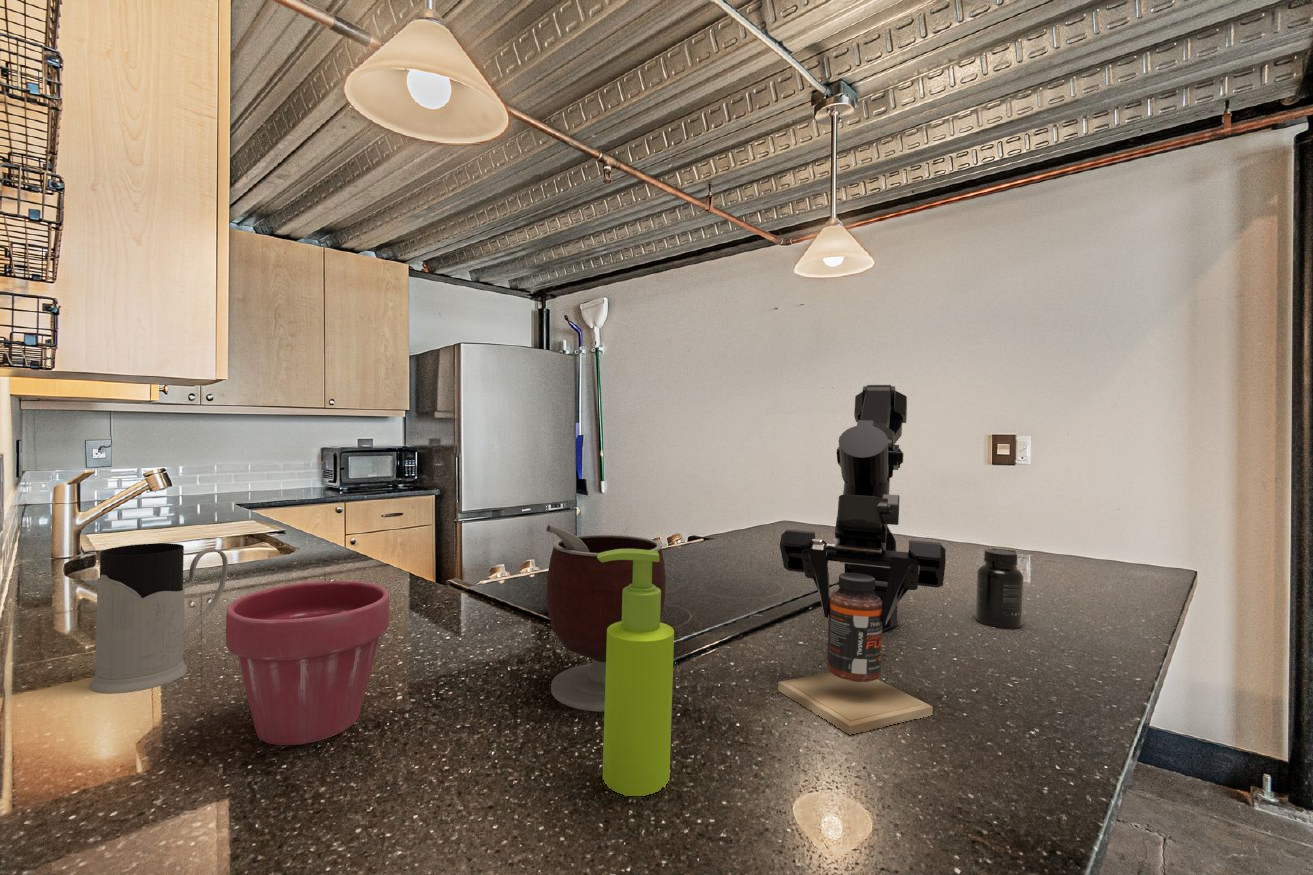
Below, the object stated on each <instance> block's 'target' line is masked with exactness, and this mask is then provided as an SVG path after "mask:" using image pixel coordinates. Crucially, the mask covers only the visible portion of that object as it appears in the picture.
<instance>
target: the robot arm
mask: <svg viewBox="0 0 1313 875" xmlns="http://www.w3.org/2000/svg"><path fill="white" fill-rule="evenodd" d="M853 411H854V413H853V417H854V419H855V420H854V421H855V423H856V425H855V426H852V427H849V428H847V429H846V430H845V431H843V432H842V434H841V435H840V436H839V437H838V447H837V448H836V461H837V464H838V465H839V467H840V472H841V478H842V480H843V482H844V483H843V490H842V494H841V495H839V496H838V502H837V503H838V504H837V515H836V522H835V528H834V537H835V539H837V541H836V544H835V543H827V542H826V541H825V540H823V539H816V533H815V531H810V530H809V531H807V530H799V529H798V530H796V529H786V530H785V531H784V532H783V533H781V535H780V536H781V537H780V542H779V550H780V554H781V559H782V564H783V568H784V569H785V570H787V572H788V571H789V572H794V573H795V572H796V573H803V574H804V576H805V578H807V579H811V580H813V581H814V585H815V586H816V589H817V591H818V595H819V598H820V599H819V600H820V603H821V608H822V612H823V616H824V618H826V619H827V618H828V619H829V600H830V574H829V573H830V572H829V564H828V563H829V561H830V562H838V563H841V564H844V573H859V574H865V575H869V576H872V577H874V578H875V589H874V591H875V593H876V595H877V596H878V597H879V598H880V599H881V600H882V603H883V610H882V633H884V632H885V631H888V630H889V629H891V628H894V627H896V626H897V625H899V621H898V604H899V603H900V601H901V600H902V599H903V597H904V596H906V593H907V592H908V591H916V590H918V588H919V587H918V586H920V587H928V588H929V587H930V588H941V587H943V586H944V581H945V580H944V578H945V571H946V559H947V558H946V557H947V556H946V553H947V552H946V547H945V546H944V545H943V544H941V542H934V541H922V540H911V539H909V540H908V551H900V550H899V551H898V550H897V541H896V540H897V539H895V536H894V535H893V533H892V532H891V530H890V528H889V525H891V526H892V525H894V526H898V525H899V519H900V495H899V494H890V489H891V488H890V486H891V479H892V478H893V477H894V476H893V475H894V471H899V469H901V465H902V464H903V463H904V452H903V451H902V449H901V448H900V444H896V443H897V442H898V441H899V440H900V438H902V435H903V434H902V432H903V424H907V418H908V417H907V416H908V415H907V414H908V397H907V395H905V394H903V393H901V392H899V391H897V390H896V386H895V385H894V386H893V385H891V384H867V385H863V387H862V391H861V392H859V393H858V394H856V395H855V398H854V410H853Z"/></svg>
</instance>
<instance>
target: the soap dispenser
mask: <svg viewBox="0 0 1313 875" xmlns="http://www.w3.org/2000/svg"><path fill="white" fill-rule="evenodd" d="M597 559H598V560H599V561H600V562H607V561H612V560H633V581H632V584H630V585H628V586H627V587H625V588H624V589H623V593H622V621H620V622H617V623H614V624H612V625H610V626H609V627H608V628H607V647H606V680H605V711H604V716H603V717H604V718H603V719H604V720H603V750H602V753H603V754H602V781H603V780H604V782H605V784H607V786H608V787H610V788H612V790H613V791H615V792H617V793H620V794H623V795H624V796H623V797H627V796H645V795H649V794H653V793H655V792H658V791H659V790H661V788H662V787H664V786H665V785H666V784H667V783H668V781H669V782H670V779H669V778H670V777H671V776H670V774H671V747H672V746H671V741H672V738H671V737H672V715H673V714H672V712H673V711H672V710H673V709H672V708H673V679H674V678H673V676H674V675H673V674H674V648H675V647H674V646H675V644H674V643H675V642H674V641H675V630H674V628H673V627H672V626H670V625H668V624H667V623H663V622H662V621H660V609H661V590H660V589H659V588H657V587H656V586H655V585H653V584H652V561H653V562H659V553H658V551H652V550H643V549H616V550H610V551H605V552H601V553H598V554H597ZM604 782H603V783H604ZM605 784H604V785H605ZM668 784H669V783H668Z"/></svg>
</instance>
